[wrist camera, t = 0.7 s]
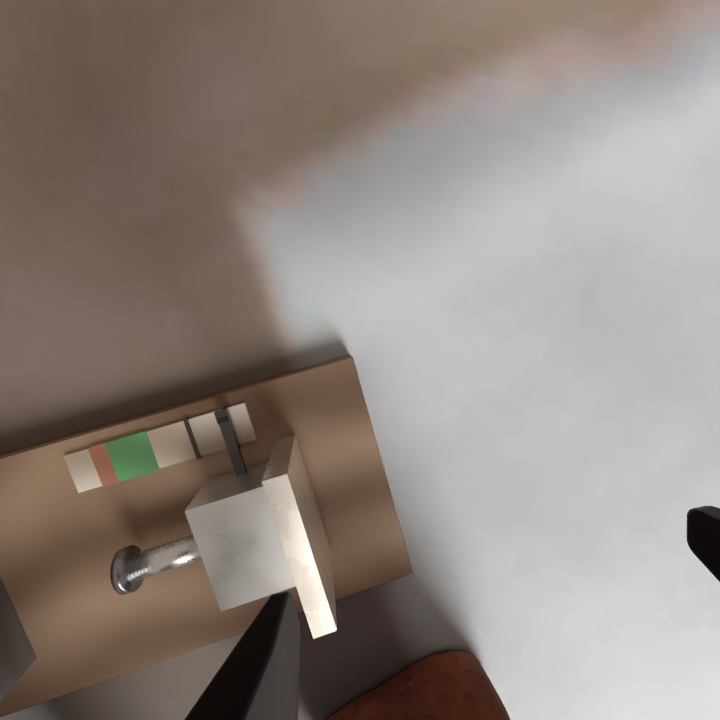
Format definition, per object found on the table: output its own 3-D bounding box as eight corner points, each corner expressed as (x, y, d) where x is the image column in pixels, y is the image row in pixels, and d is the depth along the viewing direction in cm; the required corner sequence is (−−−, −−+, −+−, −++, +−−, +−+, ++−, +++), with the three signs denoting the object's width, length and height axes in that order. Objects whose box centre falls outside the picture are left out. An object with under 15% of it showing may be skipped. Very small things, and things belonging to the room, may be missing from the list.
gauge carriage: (332, 552, 19) (337, 630, 14) (163, 609, 19) (107, 712, 14) (281, 390, 18) (268, 415, 13) (98, 443, 17) (12, 491, 12)
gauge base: (406, 556, 22) (443, 652, 15) (1, 695, 20) (-152, 874, 13) (350, 355, 20) (365, 368, 14) (-99, 484, 18) (-327, 571, 12)
